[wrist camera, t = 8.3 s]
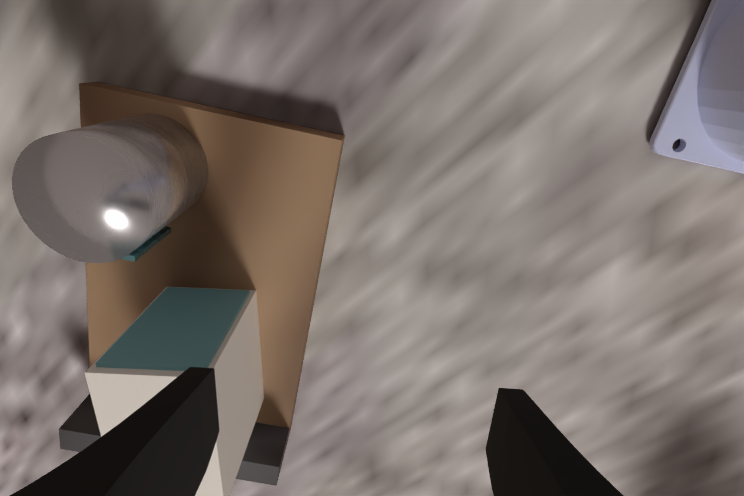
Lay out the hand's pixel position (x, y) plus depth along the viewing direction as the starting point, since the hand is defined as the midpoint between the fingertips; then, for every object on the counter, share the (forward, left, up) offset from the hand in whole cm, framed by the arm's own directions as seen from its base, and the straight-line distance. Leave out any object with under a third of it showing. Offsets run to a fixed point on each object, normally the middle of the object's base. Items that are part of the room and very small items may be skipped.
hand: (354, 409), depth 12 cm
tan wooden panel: (+7, +3, -10) cm, 12 cm away
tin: (+9, -2, -9) cm, 13 cm away
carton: (+6, +6, -9) cm, 12 cm away
